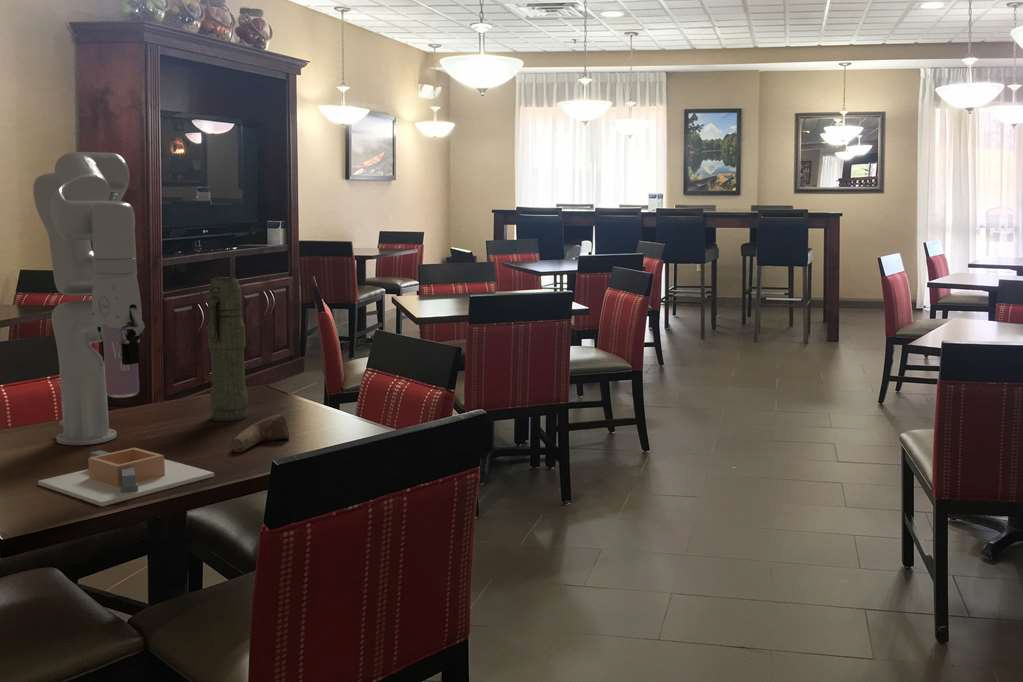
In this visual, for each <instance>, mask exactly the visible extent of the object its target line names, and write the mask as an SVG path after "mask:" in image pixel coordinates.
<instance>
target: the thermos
mask: <svg viewBox="0 0 1023 682" xmlns="http://www.w3.org/2000/svg"><path fill="white" fill-rule="evenodd" d="M242 300H243V299H242V288H241V285H240V283H239V280H238V278H235V277H234V276H215V277H214V278H211V280H210V284H209V287H208V303H207V318H208V321H207V322H208V325H207V340H208V349H209V352H210V360H211V361H210V362H211V366H210V367H211V388H210V392H209V394H210V408H211V419H212V420H214V421H219V422H220V421H221V422H231V421H239V420H244V419H246V418H248V417H249V413H248V408H249V396H248V395H249V392H248V389H247V386H246V379H245V378H246V376H245V348H246V345H247V344H246V327H245V324H244V320H243V301H242Z"/></svg>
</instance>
